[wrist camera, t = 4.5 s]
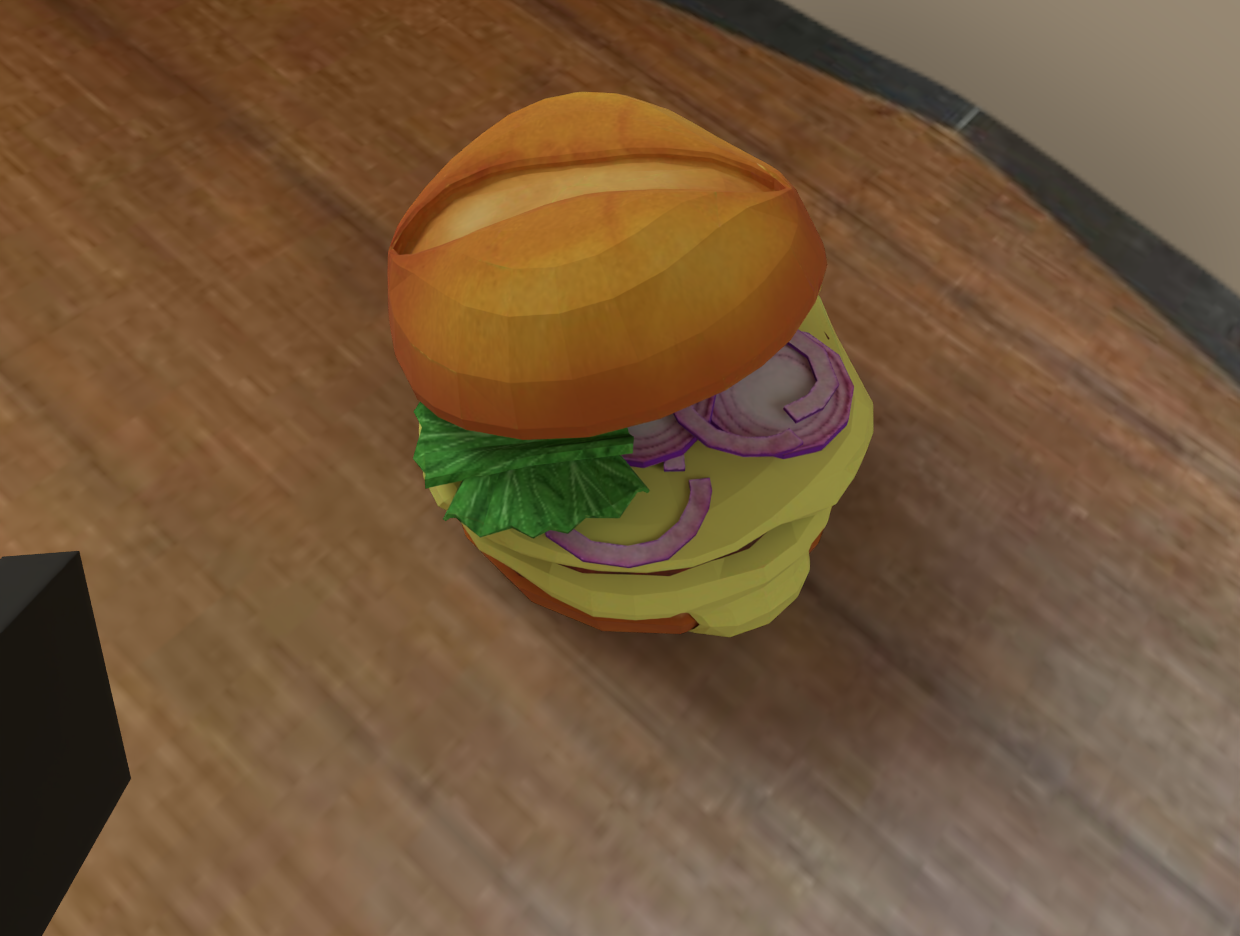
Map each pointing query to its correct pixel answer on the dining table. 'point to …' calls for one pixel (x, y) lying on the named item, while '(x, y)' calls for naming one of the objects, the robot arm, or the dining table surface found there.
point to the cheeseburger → (626, 366)
